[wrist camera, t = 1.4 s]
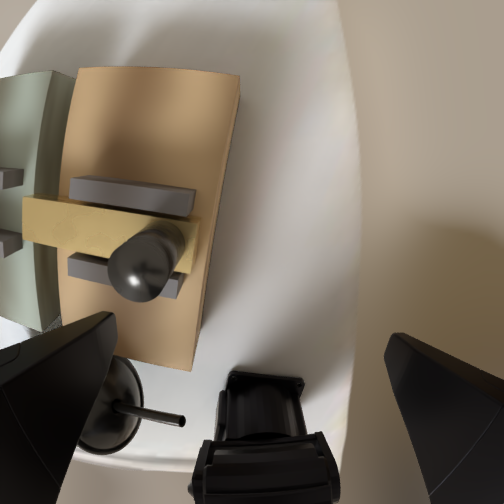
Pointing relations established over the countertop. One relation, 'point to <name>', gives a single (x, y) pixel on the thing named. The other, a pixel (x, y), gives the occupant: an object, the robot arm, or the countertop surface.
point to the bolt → (116, 239)
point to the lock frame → (113, 191)
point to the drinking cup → (119, 411)
